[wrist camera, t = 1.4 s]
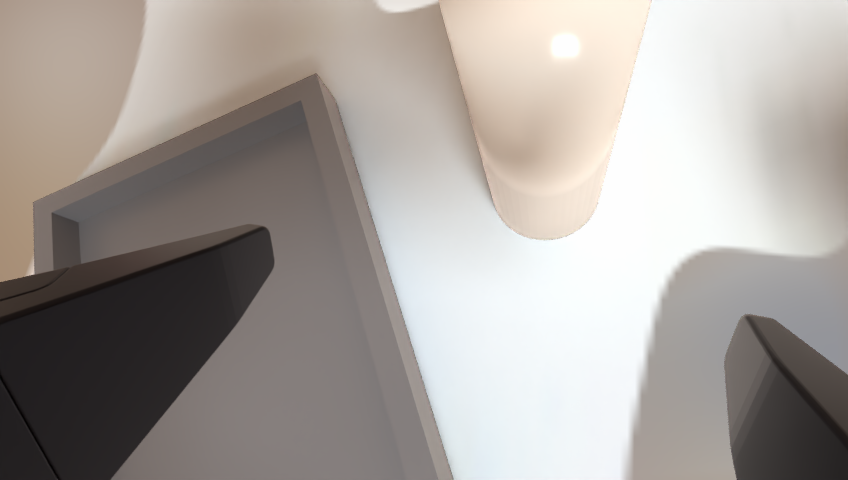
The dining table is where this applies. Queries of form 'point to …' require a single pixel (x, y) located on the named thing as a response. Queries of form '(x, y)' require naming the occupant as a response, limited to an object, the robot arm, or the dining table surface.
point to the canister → (545, 100)
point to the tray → (268, 300)
